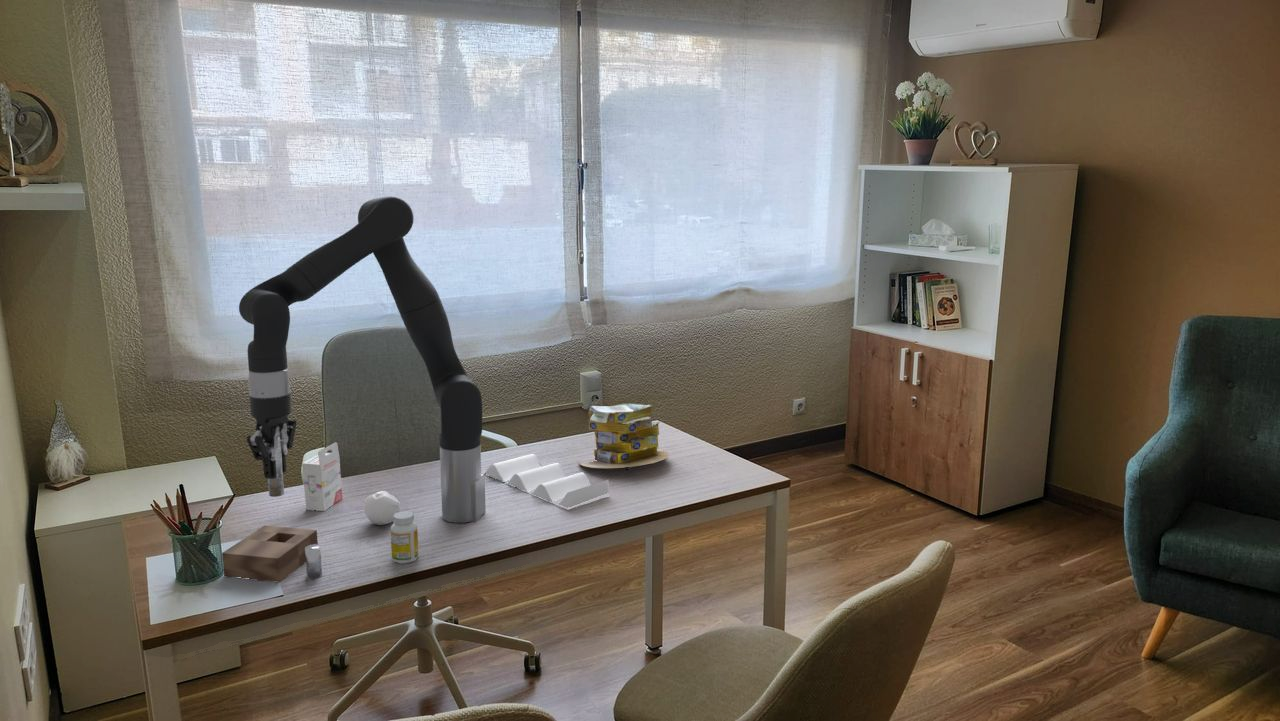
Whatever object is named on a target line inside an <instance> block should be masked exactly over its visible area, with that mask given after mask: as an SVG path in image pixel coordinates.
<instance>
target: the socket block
mask: <svg viewBox="0 0 1280 721" xmlns="http://www.w3.org/2000/svg"><path fill="white" fill-rule="evenodd" d="M313 544H316V545H319V542H318V530H317V529H309V528H308V529H307V528H297V527H287V526H277V525H276V526H275V525H274V526H273V525H262V526H261V527H260V528H258V529H257V530H255V531H254V532H252V533H250V534H249V535H247V536H246V537H245V538H243V539H241V540H239V541H238V542H237V543H235V544H234V545H232V546H231V547H229V548H227V549H226V550H224V551H223V552H222V553H221V556H222V557H221V558H222V559H221V560H222V568H223V569H222V570H223V577H224V576H227V577H226V578H231V577H241V578H249V579H248V580H251V579H257V580H256V581H261V580H267V581H266V582H271V581H277V582H276V583H281V582H282V581H283V580H285V579H286V578H287V577H289V576H290V575H292V573H294V572H295V571H297V569H299V568H301V566H303V565H304V564H306V556H305V547H306V546H309V545H313ZM241 578H240V579H241Z"/></svg>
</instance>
